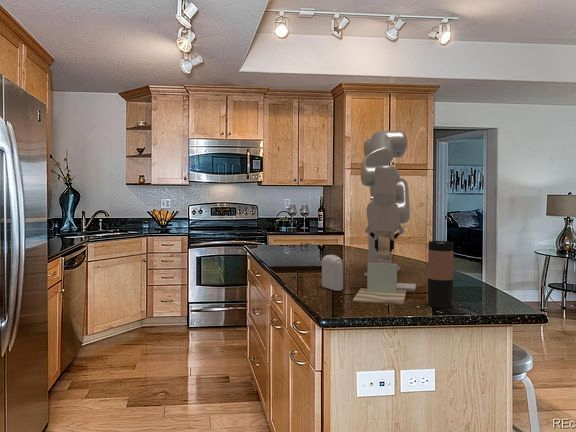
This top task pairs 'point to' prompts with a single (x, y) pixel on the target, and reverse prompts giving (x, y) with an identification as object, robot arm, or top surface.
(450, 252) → the travel mug
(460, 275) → the top surface
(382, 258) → the wooden block
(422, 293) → the top surface
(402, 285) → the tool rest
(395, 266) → the tile
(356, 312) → the top surface
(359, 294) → the oak board
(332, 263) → the photo printer
